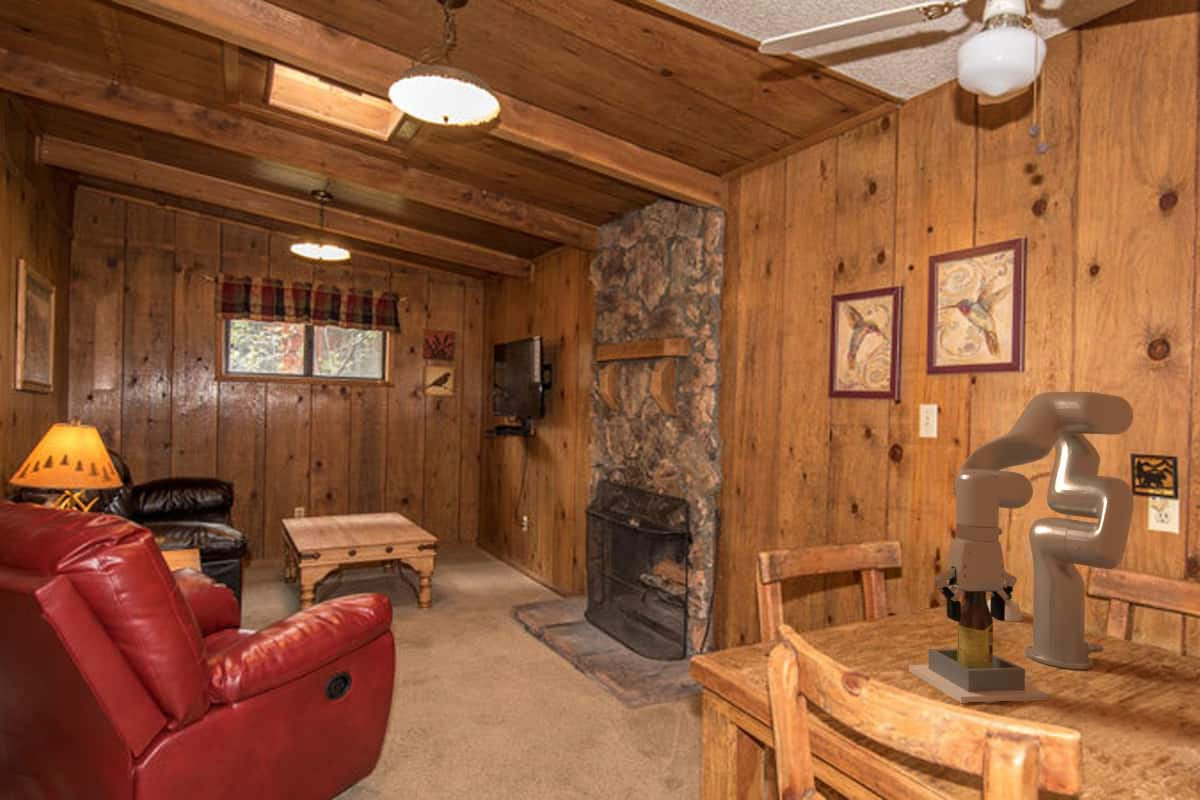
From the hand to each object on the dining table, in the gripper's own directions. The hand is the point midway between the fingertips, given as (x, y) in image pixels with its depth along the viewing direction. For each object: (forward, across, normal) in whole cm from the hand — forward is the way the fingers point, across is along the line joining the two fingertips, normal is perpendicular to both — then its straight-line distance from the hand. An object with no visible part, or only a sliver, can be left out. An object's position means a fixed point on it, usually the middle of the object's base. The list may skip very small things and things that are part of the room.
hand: (975, 619), depth 135 cm
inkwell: (+13, -40, -40) cm, 58 cm away
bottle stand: (+13, 0, 0) cm, 13 cm away
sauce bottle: (+12, 0, 0) cm, 12 cm away
